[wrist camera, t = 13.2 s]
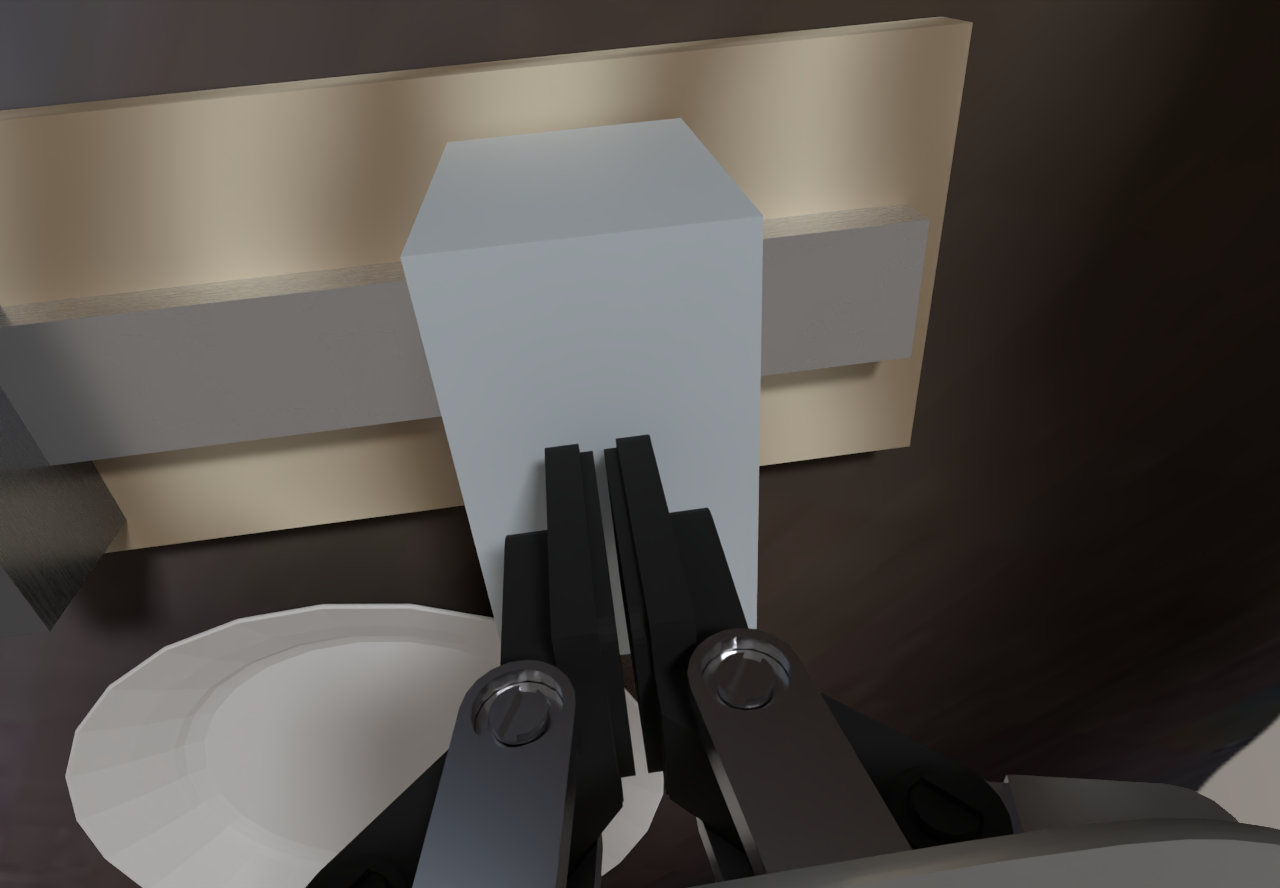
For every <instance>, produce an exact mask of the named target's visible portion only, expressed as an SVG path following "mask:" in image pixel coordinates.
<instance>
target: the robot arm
mask: <svg viewBox="0 0 1280 888" xmlns="http://www.w3.org/2000/svg"><path fill="white" fill-rule="evenodd" d="M604 457H605V465H606V473H607V481H608V489H609V497H610V505H611V513H612V521H613V529H614V537H615V545H616V554H617V562H618V570H619V577H620V585H621V592H622V599H623V606H624V613H625V619H626V626H627V633H628V640H629V647H630V653H631V660H632V667H633V674H634V681H635V687H636V694H637V701H638V708H639V715H640V721H641V728H642V735H643V742H644V749H645V755H646V762H647V769H648V773H654V772H661V771H663V776H664V782H665V788H666V794H667V795H668V794H669V797H670V799H671V800H672V801H674V802H675V803H676V804H678V805H679V806H681V807H682V808H684V809H685V810H687V811H688V812H690V813H691V814H693V815H694V816H696V818H697V824H698V829H699V833H700V836H701V839H702V841H703V844H704V847H705V850H706V853H707V855H708V858H709V861H710V864H711V867H712V869H713V872H714V875H715V878H716V881H717V883H712V884H706V885H700V886H694V887H688V888H1280V830H1278V829H1274V828H1269V827H1264V826H1257V825H1250V824H1243V823H1239V822H1238V821H1237V820H1236V818H1234V817H1233V816H1232V815H1231V814H1229V813H1228V812H1227V811H1226V810H1224V809H1223V808H1222V807H1221V806H1220V805H1218V804H1217V803H1216V802H1215V801H1213V800H1211V799H1209V798H1207V797H1205V796H1203V795H1201V794H1199V793H1197V792H1195V791H1193V790H1191V789H1187V788H1182V787H1178V786H1173V785H1168V784H1157V783H1141V782H1125V781H1108V780H1092V779H1075V778H1059V777H1042V776H1026V775H1009V774H1006V777H1005V780H1004V783H1003V782H987V781H985V780H984V779H983V778H981V777H980V776H978V775H977V774H975V773H974V772H972V771H971V770H969V769H968V768H966V767H965V766H963V765H961V764H959V763H957V762H955V761H953V760H951V759H949V758H947V757H945V756H943V755H941V754H939V753H937V752H935V751H933V750H931V749H929V748H927V747H925V746H924V745H922V744H920V743H918V742H916V741H914V740H912V739H910V738H908V737H906V736H904V735H902V734H900V733H898V732H896V731H894V730H892V729H890V728H888V727H886V726H884V725H883V724H881V723H879V722H877V721H875V720H873V719H871V718H869V717H867V716H865V715H863V714H861V713H859V712H857V711H855V710H853V709H851V708H849V707H847V706H845V705H844V704H842V703H840V702H838V701H836V700H834V699H832V698H830V697H828V696H826V695H824V694H822V693H820V692H819V690H818V689H817V687H816V685H815V683H814V682H813V680H812V678H811V677H810V675H809V673H808V672H807V670H806V668H805V666H804V665H803V663H802V661H801V660H800V658H799V656H798V655H797V654H796V653H795V652H794V650H793V649H792V648H791V647H790V646H789V644H787V643H786V642H784V641H783V640H781V639H780V638H778V637H777V636H775V635H773V634H770V633H767V632H765V631H762V630H759V629H750V628H748V625H747V622H746V619H745V616H744V612H743V609H742V606H741V603H740V600H739V597H738V594H737V591H736V588H735V585H734V582H733V579H732V576H731V572H730V569H729V566H728V563H727V560H726V557H725V554H724V551H723V548H722V545H721V542H720V539H719V536H718V533H717V529H716V526H715V523H714V520H713V517H712V515H711V512H710V510H709V509H708V507H707V508H700V509H693V510H685V511H678V512H671V513H669V510H668V506H667V502H666V498H665V494H664V490H663V486H662V482H661V478H660V474H659V470H658V466H657V462H656V458H655V455H654V451H653V447H652V443H651V439H650V435H649V434H646V435H639V436H631V437H624V438H616V448H609V449H604ZM545 478H546V506H547V530H542V531H534V532H527V533H520V534H513V535H506V538H505V547H504V575H503V602H502V630H501V658H500V666H499V667H496V668H494V669H492V670H490V671H489V672H487V673H486V674H484V675H483V676H482V677H480V678H479V679H477V681H476V682H475V683H474V684H473V685H472V686H471V688H470V689H469V690H468V691H467V692H466V694H465V696H464V698H463V701H462V703H461V705H460V707H459V711H458V715H457V719H456V722H455V726H454V730H453V734H452V738H451V741H450V745H449V749H448V750H447V751H446V752H445V753H444V754H443V755H442V756H441V757H440V758H438V759H437V760H436V761H435V762H434V763H433V764H432V765H431V766H430V767H429V768H428V769H427V770H426V771H425V772H424V773H423V774H422V775H421V776H419V777H418V778H417V779H416V780H415V781H414V782H413V783H412V784H411V785H410V786H409V787H408V788H407V789H406V790H405V791H404V792H403V793H402V794H401V795H399V796H398V797H397V798H396V799H395V800H394V801H393V802H392V803H391V804H390V805H389V806H388V807H387V808H386V809H385V810H384V811H383V812H382V813H380V814H379V815H378V816H377V817H376V818H375V819H374V820H373V821H372V822H371V823H370V824H369V825H368V826H367V827H366V828H365V829H364V830H363V831H361V832H360V833H359V834H358V835H357V836H356V837H355V838H354V839H353V840H352V841H351V842H350V843H349V844H348V845H347V846H346V847H345V848H344V849H343V850H341V851H340V852H339V853H338V854H337V855H336V856H335V857H334V858H333V859H332V860H331V861H330V862H329V863H328V864H327V865H326V866H325V867H324V868H322V869H321V870H320V871H319V872H318V873H317V874H316V876H315V877H314V878H313V879H312V880H311V882H310V883H309V884H308V885H307V886H306V887H305V888H600V887H601V871H602V856H603V841H602V832H603V831H604V830H605V828H606V827H607V826H608V825H609V823H610V822H611V821H612V820H613V818H614V817H615V816H616V815H617V813H618V812H619V811H620V810H621V808H622V807H623V803H622V802H624V798H623V789H622V780H621V778H623V777H629V776H636V772H635V764H634V757H633V749H632V742H631V734H630V727H629V719H628V712H627V704H626V696H625V689H624V681H623V674H622V666H621V659H620V651H619V643H618V636H617V628H616V621H615V613H614V606H613V598H612V590H611V583H610V575H609V568H608V560H607V553H606V545H605V538H604V531H603V523H602V516H601V508H600V501H599V493H598V486H597V478H596V471H595V463H594V456H593V451H587V452H580V450H579V444H571V445H563V446H556V447H548V448H545Z"/></svg>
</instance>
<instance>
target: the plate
mask: <svg viewBox="0 0 1280 888" xmlns="http://www.w3.org/2000/svg"><path fill="white" fill-rule="evenodd" d="M500 658H501V643H500V639H499V635H498V631H497V627H496V623H495V619H494V618H493V617H487V616H481V615H475V614H469V613H463V612H457V611H451V610H445V609H439V608H433V607H427V606H422V605H416V604H320V605H314V606H309V607H303V608H297V609H291V610H285V611H279V612H274V613H268V614H262V615H256V616H250V617H245V618H239V619H236V620H233V621H231V622H228V623H225V624H223V625H220V626H217V627H215V628H212V629H210V630H207V631H204V632H202V633H199V634H196V635H194V636H191V637H189V638H186V639H183V640H181V641H178V642H175V643H173V644H170V645H168V646H165V647H163V648H162V649H161V650H159V651H158V652H156V653H155V654H153V655H152V656H151V657H149V658H148V659H146V660H145V661H143V662H142V663H141V664H139V665H138V666H136V667H135V668H133V669H132V670H131V671H129V672H128V673H126V674H125V675H123V676H122V677H121V678H119V679H118V680H116V681H115V682H113V683H112V684H111V685H109V686H108V687H107V689H106V690H105V692H104V693H103V694H102V696H101V697H100V698H99V700H98V701H97V702H96V704H95V705H94V706H93V708H92V709H91V710H90V712H89V713H88V714H87V716H86V717H85V718H84V720H83V721H82V722H81V724H80V725H79V726H78V728H77V729H76V731H75V735H74V740H73V744H72V749H71V753H70V758H69V762H68V766H67V771H66V775H65V777H66V781H67V785H68V789H69V793H70V797H71V800H72V804H73V808H74V812H75V816H76V820H77V822H78V823H79V824H80V826H81V827H82V828H83V830H84V831H85V832H86V834H87V835H88V836H89V838H90V839H91V841H92V842H93V843H94V845H95V846H96V847H97V849H98V850H99V851H100V853H101V854H102V855H103V857H104V858H105V859H106V860H107V861H109V862H110V863H111V864H112V865H114V866H115V867H116V868H118V869H119V870H120V871H121V872H123V873H124V874H125V875H127V876H128V877H129V878H131V879H132V880H133V881H134V882H136V883H137V884H138V885H140V886H141V887H142V888H305V887H306V886H307V885H308V884H309V883H310V882H311V880H312V879H313V878H314V877H315V876H316V874H317V873H318V872H319V871H320V870H321V869H322V868H324V867H325V866H326V865H327V864H328V863H329V862H330V861H331V860H332V859H333V858H334V857H335V856H336V855H337V854H338V853H339V852H340V851H341V850H343V849H344V848H345V847H346V846H347V845H348V844H349V843H350V842H351V841H352V840H353V839H354V838H355V837H356V836H357V835H358V834H359V833H360V832H361V831H363V830H364V829H365V828H366V827H367V826H368V825H369V824H370V823H371V822H372V821H373V820H374V819H375V818H376V817H377V816H378V815H379V814H380V813H382V812H383V811H384V810H385V809H386V808H387V807H388V806H389V805H390V804H391V803H392V802H393V801H394V800H395V799H396V798H397V797H398V796H399V795H401V794H402V793H403V792H404V791H405V790H406V789H407V788H408V787H409V786H410V785H411V784H412V783H413V782H414V781H415V780H416V779H417V778H418V777H419V776H421V775H422V774H423V773H424V772H425V771H426V770H427V769H428V768H429V767H430V766H431V765H432V764H433V763H434V762H435V761H436V760H437V759H438V758H440V757H441V756H442V755H443V754H444V753H445V752H446V751H447V750H448V749H449V745H450V741H451V738H452V734H453V730H454V726H455V722H456V719H457V715H458V711H459V707H460V705H461V703H462V701H463V698H464V696H465V694H466V692H467V691H468V690H469V689H470V688H471V686H472V685H473V684H474V683H475V682H476V681H477V679H479V678H480V677H482V676H483V675H484V674H486V673H487V672H489V671H490V670H492V669H494V668H496V667H499V666H500ZM624 689H625V688H624ZM625 696H626V704H627V712H628V719H629V727H630V734H631V742H632V749H633V757H634V764H635V772H636V776H629V777H623V778H621V780H622V789H623V798H624V802H622V803H623V807H622V808H621V810H620V811H619V812H618V813H617V815H616V816H615V817H614V818H613V820H612V821H611V822H610V823H609V825H608V826H607V827H606V828H605V830H604V831H603V832H602V841H603V856H602V871H601V876H603V875H604V874H605V873H607V872H608V871H610V870H611V869H612V868H614V867H615V866H616V865H618V864H619V863H620V862H621V861H622V860H623V859H624V858H625V856H626V855H627V854H628V853H629V852H630V851H631V849H632V848H633V847H634V846H635V845H636V844H637V843H638V841H639V840H640V839H641V838H642V837H643V836H644V834H645V833H646V832H647V831H648V829H649V826H650V824H651V822H652V819H653V817H654V814H655V812H656V810H657V807H658V805H659V803H660V800H661V798H662V796H663V781H664V776H663V771H661V772H654V773H648V769H647V762H646V755H645V749H644V742H643V735H642V728H641V721H640V715H639V708H638V702H637V701H636V700H635V699H634V698H633V697H632V696H631V695H630V693H629V692H628V691H627V690H626V689H625Z"/></svg>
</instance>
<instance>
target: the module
mask: <svg viewBox="0 0 1280 888" xmlns="http://www.w3.org/2000/svg"><path fill="white" fill-rule="evenodd" d="M400 258H401V262H402V265H403V269H404V273H405V277H406V281H407V285H408V289H409V292H410V296H411V300H412V304H413V308H414V312H415V315H416V319H417V323H418V327H419V331H420V335H421V339H422V342H423V346H424V350H425V354H426V358H427V362H428V365H429V369H430V373H431V377H432V381H433V385H434V389H435V392H436V396H437V400H438V404H439V408H440V412H441V416H442V419H443V423H444V427H445V431H446V435H447V439H448V442H449V446H450V450H451V454H452V458H453V462H454V466H455V469H456V473H457V477H458V481H459V485H460V489H461V492H462V496H463V500H464V504H465V508H466V512H467V516H468V519H469V523H470V527H471V531H472V535H473V539H474V543H475V546H476V550H477V554H478V558H479V562H480V566H481V569H482V573H483V577H484V581H485V585H486V589H487V593H488V596H489V600H490V604H491V608H492V612H493V616H494V619H495V623H496V627H497V631H498V635H499V639H500V643H501V630H502V602H503V575H504V547H505V538H506V535H513V534H520V533H527V532H534V531H542V530H547V506H546V478H545V448H548V447H556V446H563V445H571V444H579V450H580V452H587V451H593V456H594V463H595V471H596V478H597V486H598V493H599V501H600V508H601V516H602V523H603V531H604V538H605V545H606V553H607V560H608V568H609V575H610V583H611V590H612V598H613V606H614V613H615V621H616V628H617V636H618V643H619V651H620V655H624V654H631V653H630V647H629V640H628V633H627V626H626V619H625V613H624V606H623V599H622V592H621V585H620V577H619V570H618V562H617V554H616V545H615V537H614V529H613V521H612V513H611V505H610V497H609V489H608V481H607V473H606V465H605V457H604V449H609V448H616V438H624V437H631V436H639V435H646V434H649V435H650V439H651V443H652V447H653V451H654V455H655V458H656V462H657V466H658V470H659V474H660V478H661V482H662V486H663V490H664V494H665V498H666V502H667V506H668V510H669V513H671V512H678V511H685V510H693V509H700V508H707V507H708V509H709V510H710V512H711V515H712V517H713V520H714V523H715V526H716V529H717V533H718V536H719V539H720V542H721V545H722V548H723V551H724V554H725V557H726V560H727V563H728V566H729V569H730V572H731V576H732V579H733V582H734V585H735V588H736V591H737V594H738V597H739V600H740V603H741V606H742V609H743V612H744V616H745V619H746V622H747V625H748V628H750V629H756V625H757V565H758V506H759V446H760V386H761V326H762V266H763V215H762V214H761V213H760V211H759V210H758V209H757V208H756V207H755V205H754V204H753V203H752V202H751V201H750V199H749V198H748V197H747V196H746V195H745V194H744V192H743V191H742V190H741V189H740V188H739V186H738V185H737V184H736V183H735V182H734V180H733V179H732V178H731V177H730V176H729V174H728V173H727V172H726V171H725V170H724V169H723V167H722V166H721V165H720V164H719V163H718V161H717V160H716V159H715V158H714V157H713V155H712V154H711V153H710V152H709V151H708V150H707V148H706V147H705V146H704V145H703V144H702V142H701V141H700V140H699V139H698V138H697V136H696V135H695V134H694V133H693V132H692V130H691V129H690V128H689V127H688V126H687V125H686V123H685V122H684V121H683V120H682V119H681V118H674V119H665V120H655V121H646V122H636V123H627V124H617V125H607V126H598V127H588V128H579V129H569V130H560V131H550V132H540V133H531V134H521V135H512V136H502V137H493V138H483V139H473V140H464V141H454V142H447V144H446V146H445V149H444V151H443V154H442V156H441V159H440V161H439V163H438V166H437V168H436V171H435V173H434V176H433V178H432V181H431V183H430V185H429V188H428V190H427V193H426V195H425V198H424V200H423V203H422V205H421V207H420V210H419V212H418V215H417V217H416V220H415V222H414V225H413V227H412V229H411V232H410V234H409V237H408V239H407V242H406V244H405V247H404V249H403V251H402V254H401V256H400Z"/></svg>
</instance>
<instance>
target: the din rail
mask: <svg viewBox="0 0 1280 888" xmlns="http://www.w3.org/2000/svg"><path fill="white" fill-rule="evenodd" d="M929 222H930V220H929V219H928V218H926V217H925V216H924V215H922V214H921V213H919V212H918V211H916V210H915V209H914V208H912V207H911V206H909V205H908V204H906V203H905V204H896V205H888V206H879V207H870V208H861V209H853V210H844V211H835V212H826V213H818V214H809V215H800V216H791V217H783V218H774V219H765V220H763V266H762V326H761V376H765V375H773V374H781V373H789V372H797V371H805V370H813V369H821V368H829V367H837V366H845V365H853V364H860V363H868V362H876V361H884V360H892V359H900V358H908V357H911V351H912V344H913V337H914V329H915V322H916V315H917V308H918V301H919V293H920V286H921V279H922V272H923V265H924V257H925V250H926V243H927V236H928V229H929ZM440 416H441V412H440V408H439V404H438V400H437V396H436V392H435V389H434V385H433V381H432V377H431V373H430V369H429V365H428V362H427V358H426V354H425V350H424V346H423V342H422V339H421V335H420V331H419V327H418V323H417V319H416V315H415V312H414V308H413V304H412V300H411V296H410V292H409V289H408V285H407V281H406V277H405V273H404V269H403V265H402V262H401V261H397V262H388V263H380V264H371V265H362V266H353V267H345V268H336V269H327V270H318V271H310V272H301V273H292V274H283V275H275V276H266V277H257V278H248V279H240V280H231V281H222V282H213V283H205V284H196V285H187V286H178V287H170V288H161V289H152V290H143V291H135V292H126V293H117V294H108V295H100V296H91V297H82V298H73V299H65V300H56V301H47V302H38V303H29V304H21V305H12V306H3V307H1V305H0V638H7V637H14V636H21V635H28V634H36V633H43V632H50V631H51V629H52V628H53V626H54V625H55V623H56V622H57V620H58V619H59V618H60V616H61V615H62V613H63V612H64V610H65V609H66V607H67V606H68V605H69V603H70V602H71V600H72V599H73V597H74V596H75V595H76V593H77V592H78V590H79V589H80V587H81V586H82V584H83V583H84V582H85V580H86V579H87V577H88V576H89V574H90V573H91V571H92V570H93V569H94V567H95V566H96V564H97V563H98V561H99V560H100V558H101V557H102V556H103V554H104V553H105V551H106V550H107V548H108V547H109V545H110V544H111V543H112V541H113V540H114V538H115V537H116V535H117V534H118V533H119V531H120V530H121V528H122V527H123V525H124V524H125V522H126V521H127V520H126V518H125V516H124V515H123V513H122V511H121V509H120V508H119V506H118V504H117V503H116V501H115V499H114V498H113V496H112V494H111V492H110V491H109V489H108V487H107V486H106V484H105V482H104V481H103V479H102V477H101V475H100V474H99V472H98V470H97V469H96V467H95V465H94V463H93V462H92V460H99V459H107V458H115V457H123V456H131V455H139V454H147V453H155V452H163V451H171V450H179V449H187V448H195V447H202V446H210V445H218V444H226V443H234V442H242V441H250V440H258V439H266V438H274V437H282V436H290V435H298V434H306V433H313V432H321V431H329V430H337V429H345V428H353V427H361V426H369V425H377V424H385V423H393V422H401V421H409V420H417V419H424V418H432V417H440Z"/></svg>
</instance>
